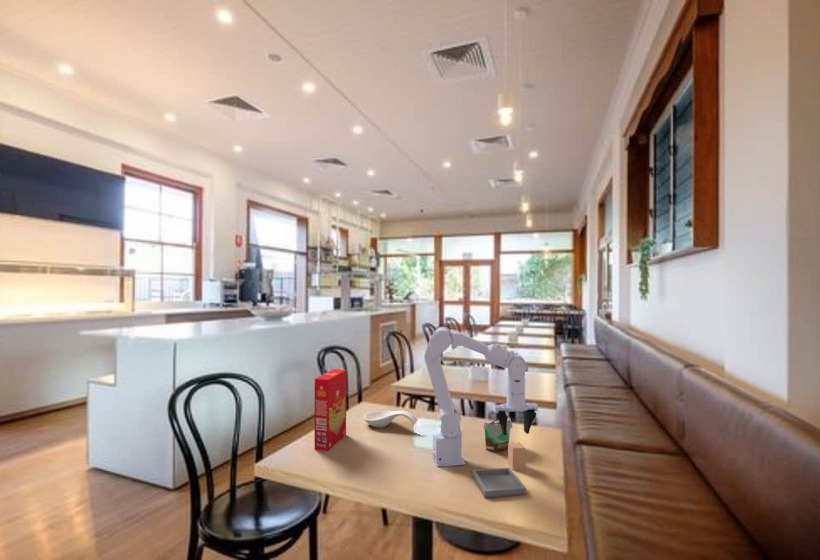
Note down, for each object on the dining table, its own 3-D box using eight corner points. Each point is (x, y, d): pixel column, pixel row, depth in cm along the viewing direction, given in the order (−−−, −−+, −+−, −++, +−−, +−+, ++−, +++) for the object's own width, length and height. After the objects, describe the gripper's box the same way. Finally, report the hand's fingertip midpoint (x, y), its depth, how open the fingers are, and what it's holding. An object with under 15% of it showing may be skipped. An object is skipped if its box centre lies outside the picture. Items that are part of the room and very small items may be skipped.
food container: (497, 457, 137) (497, 428, 137) (483, 450, 142) (483, 422, 142) (519, 447, 145) (519, 419, 145) (505, 441, 150) (505, 414, 149)
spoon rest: (358, 427, 163) (358, 409, 163) (373, 417, 173) (373, 401, 173) (411, 438, 153) (411, 419, 152) (424, 427, 163) (424, 409, 163)
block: (512, 470, 128) (513, 448, 128) (507, 464, 132) (508, 443, 132) (524, 469, 129) (525, 447, 129) (519, 463, 133) (519, 442, 133)
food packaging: (328, 451, 140) (328, 379, 140) (314, 449, 142) (314, 378, 141) (346, 434, 155) (346, 369, 154) (333, 433, 156) (333, 368, 155)
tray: (485, 498, 112) (485, 491, 112) (472, 476, 124) (472, 469, 124) (525, 494, 114) (525, 488, 114) (509, 473, 126) (509, 467, 126)
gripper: (531, 387, 136) (530, 427, 136) (490, 389, 134) (489, 429, 134) (541, 393, 129) (540, 435, 129) (498, 395, 127) (497, 438, 127)
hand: (515, 433), depth 131 cm, fingers open, 7 cm apart
